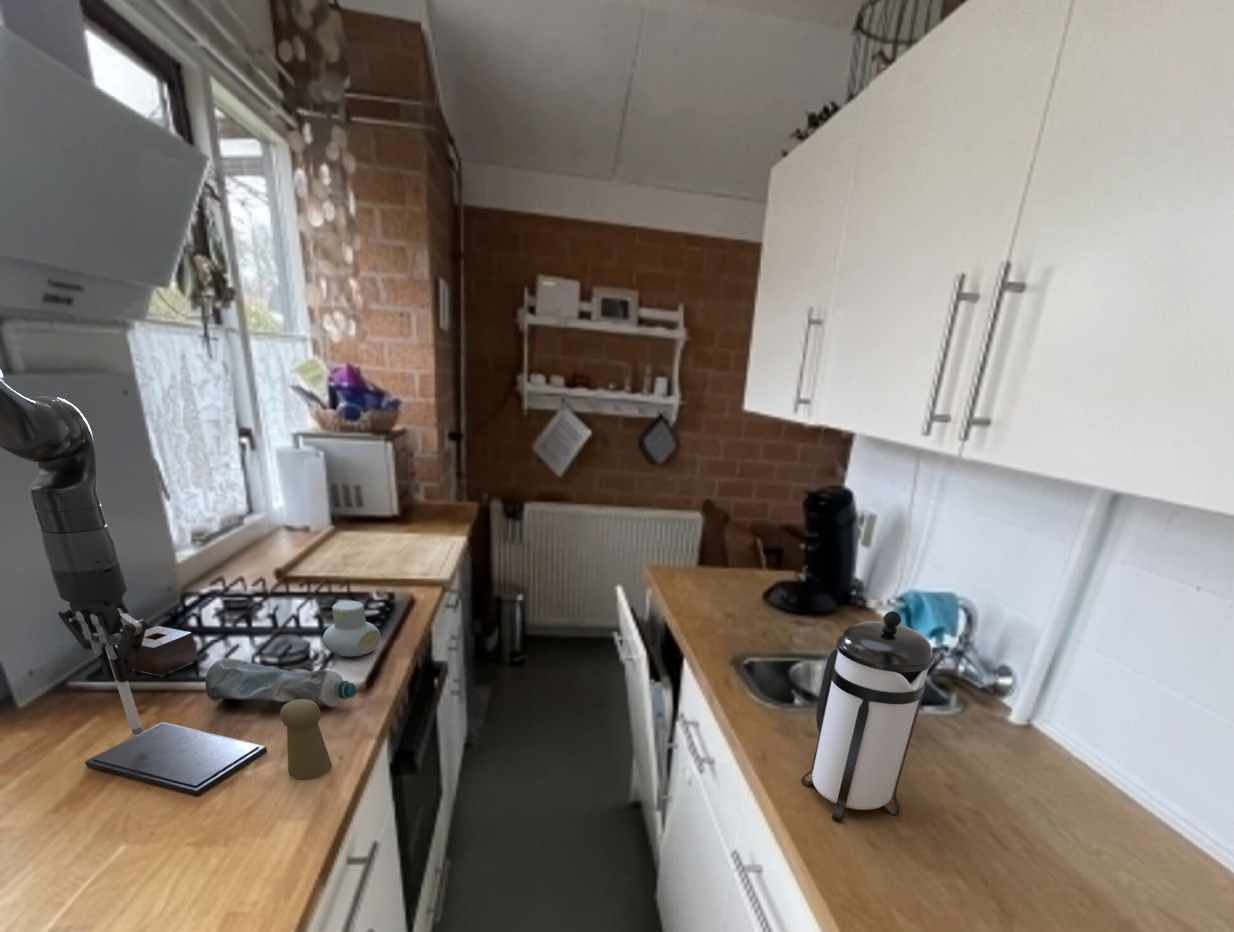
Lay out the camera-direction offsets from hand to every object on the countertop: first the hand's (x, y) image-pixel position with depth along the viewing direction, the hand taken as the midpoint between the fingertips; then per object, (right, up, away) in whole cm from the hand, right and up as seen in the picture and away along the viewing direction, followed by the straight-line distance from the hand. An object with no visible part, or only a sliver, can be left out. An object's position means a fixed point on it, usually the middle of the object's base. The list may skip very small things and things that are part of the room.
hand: (120, 678), depth 101 cm
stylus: (-1, -8, +4) cm, 9 cm away
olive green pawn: (+25, -14, +4) cm, 29 cm away
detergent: (+13, -3, +22) cm, 26 cm away
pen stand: (-15, +4, +31) cm, 35 cm away
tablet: (+6, -12, +4) cm, 14 cm away
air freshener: (+17, +7, +42) cm, 46 cm away
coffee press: (+106, -18, +7) cm, 108 cm away
